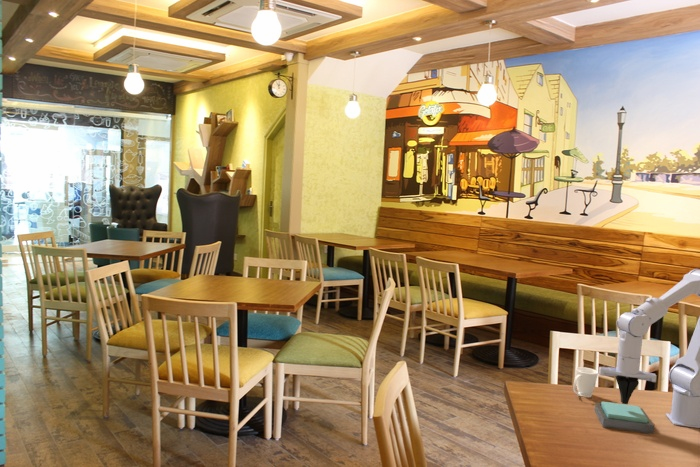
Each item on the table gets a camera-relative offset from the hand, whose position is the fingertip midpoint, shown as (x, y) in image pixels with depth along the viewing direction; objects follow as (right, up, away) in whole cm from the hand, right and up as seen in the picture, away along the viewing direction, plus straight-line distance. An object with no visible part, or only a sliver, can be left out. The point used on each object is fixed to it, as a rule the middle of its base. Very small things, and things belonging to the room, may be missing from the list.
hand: (624, 402), depth 163 cm
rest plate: (0, -4, 0) cm, 4 cm away
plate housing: (0, -6, 0) cm, 6 cm away
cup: (-4, -4, +21) cm, 21 cm away
